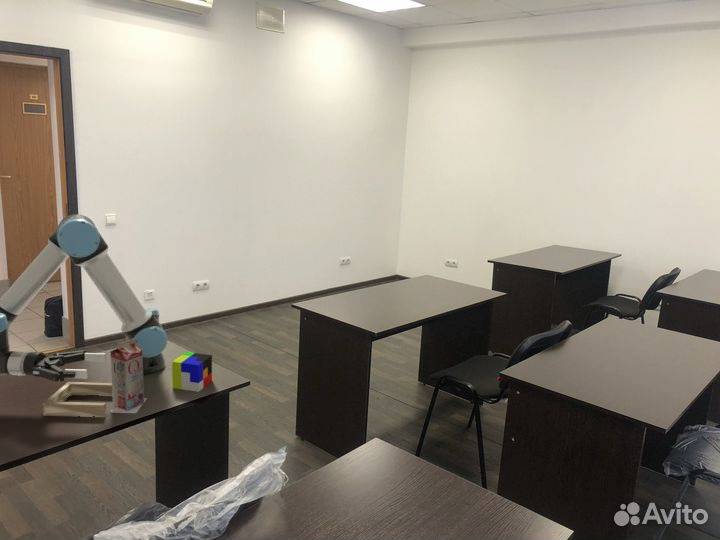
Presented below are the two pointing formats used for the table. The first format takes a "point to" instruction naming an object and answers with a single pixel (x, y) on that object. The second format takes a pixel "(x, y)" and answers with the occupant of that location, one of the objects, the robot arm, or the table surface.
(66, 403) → the open wooden frame
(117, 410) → the mat
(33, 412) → the table surface
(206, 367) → the puzzle toy
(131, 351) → the juice carton
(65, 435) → the table surface
